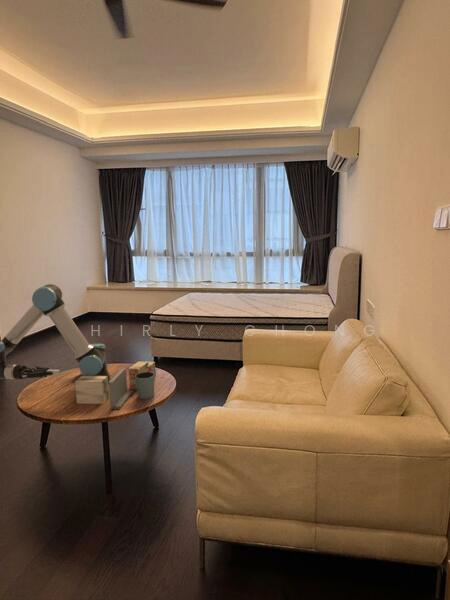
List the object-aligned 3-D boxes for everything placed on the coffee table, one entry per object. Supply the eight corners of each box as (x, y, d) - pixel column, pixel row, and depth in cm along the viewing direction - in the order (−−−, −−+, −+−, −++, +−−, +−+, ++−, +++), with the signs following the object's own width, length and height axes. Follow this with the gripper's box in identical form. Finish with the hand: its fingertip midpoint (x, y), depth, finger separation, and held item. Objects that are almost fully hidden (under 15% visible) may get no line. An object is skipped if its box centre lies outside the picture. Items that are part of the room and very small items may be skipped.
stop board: (123, 392, 212) (122, 368, 209) (132, 392, 211) (131, 368, 209) (110, 408, 192) (108, 382, 190) (120, 409, 191) (118, 382, 189)
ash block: (83, 397, 207) (81, 375, 205) (109, 397, 206) (107, 376, 204) (77, 403, 199) (75, 381, 197) (103, 403, 198) (101, 381, 196)
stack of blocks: (146, 375, 238) (145, 356, 236) (156, 376, 236) (155, 357, 234) (129, 388, 217) (128, 367, 215) (139, 389, 216) (138, 368, 214)
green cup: (158, 393, 210) (157, 372, 208) (150, 400, 200) (149, 378, 199) (141, 391, 213) (140, 370, 211) (132, 399, 203) (131, 377, 201)
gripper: (24, 374, 210) (66, 375, 208) (9, 383, 197) (53, 384, 195) (22, 361, 209) (65, 361, 207) (7, 369, 196) (52, 370, 194)
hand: (59, 372), depth 201 cm, fingers closed
